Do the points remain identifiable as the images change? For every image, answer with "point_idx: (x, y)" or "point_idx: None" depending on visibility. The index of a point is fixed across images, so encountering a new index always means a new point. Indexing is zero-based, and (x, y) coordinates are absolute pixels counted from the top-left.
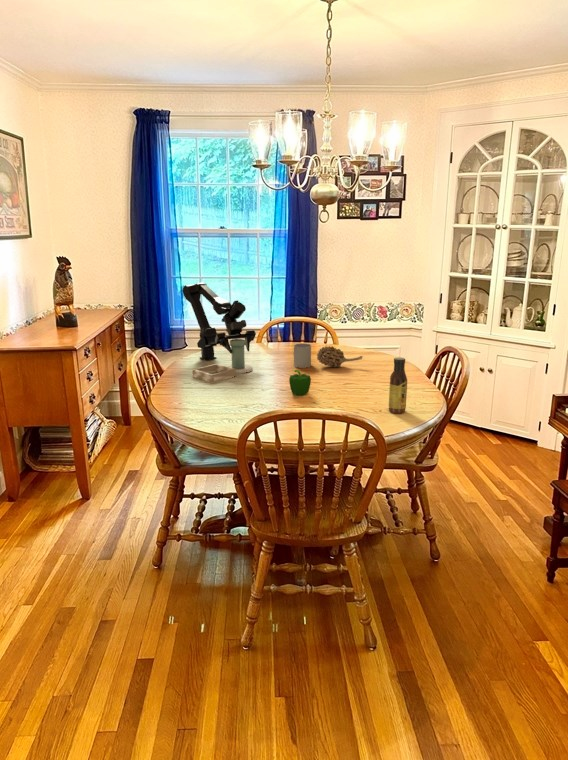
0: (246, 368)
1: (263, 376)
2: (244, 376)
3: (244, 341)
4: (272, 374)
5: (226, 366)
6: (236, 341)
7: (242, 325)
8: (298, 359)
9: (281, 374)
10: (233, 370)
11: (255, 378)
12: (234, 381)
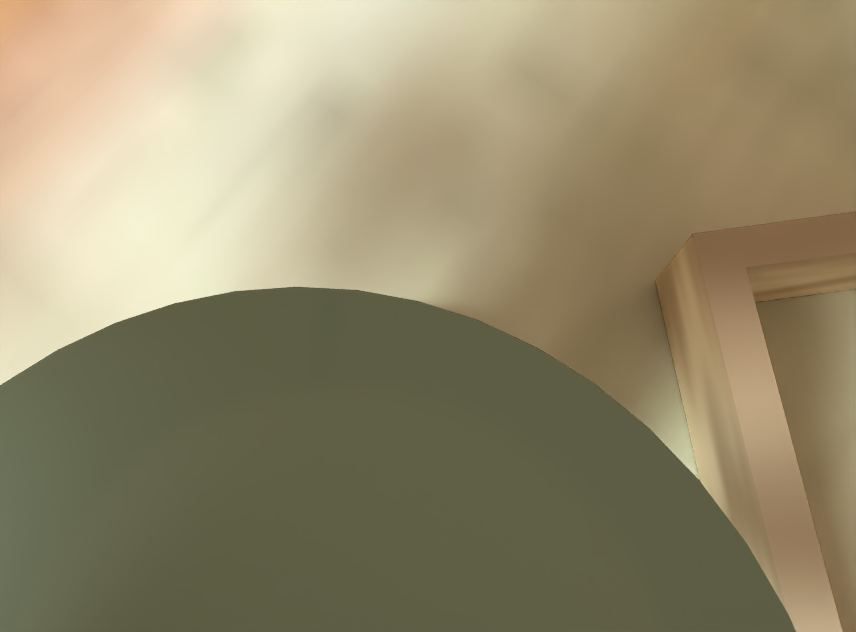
0: None
1: (344, 60)
2: (554, 213)
3: (59, 360)
4: (191, 66)
5: (773, 526)
6: (495, 614)
7: None
8: None
9: (110, 2)
10: (761, 228)
11: (487, 46)
12: (809, 94)
